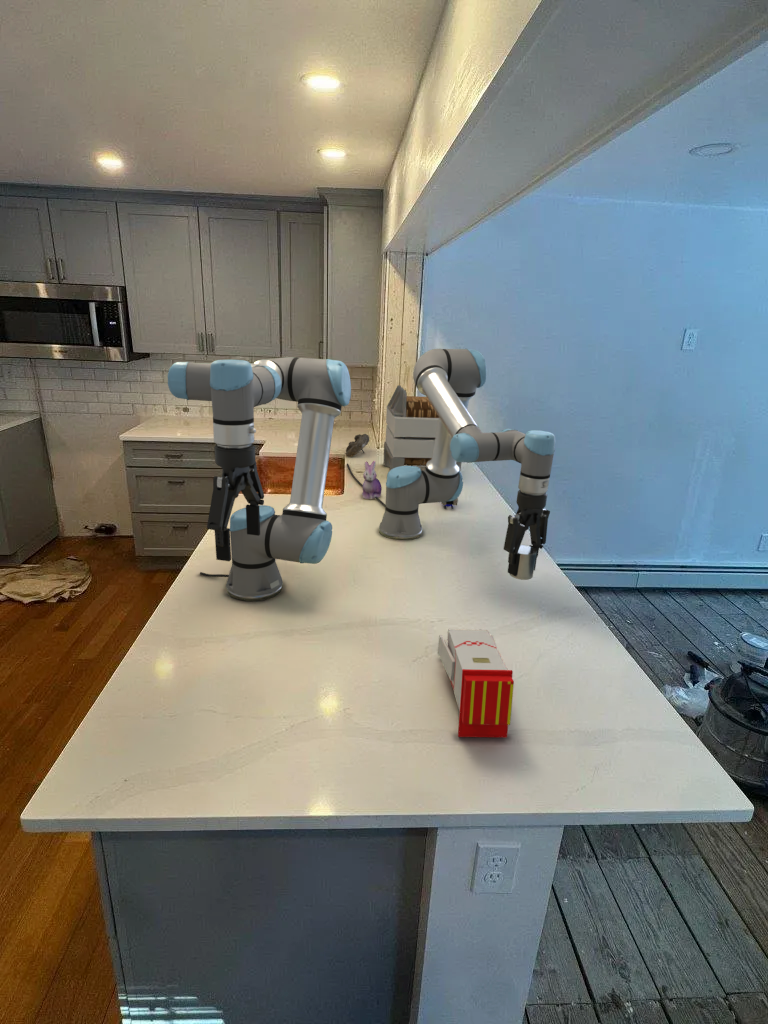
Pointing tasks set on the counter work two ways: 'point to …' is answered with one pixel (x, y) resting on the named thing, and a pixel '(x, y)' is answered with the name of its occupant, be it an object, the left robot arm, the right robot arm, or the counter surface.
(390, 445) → the grey slatted crate
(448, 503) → the figurine character
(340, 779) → the counter surface
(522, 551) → the tin
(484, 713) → the toy
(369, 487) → the figurine
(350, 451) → the fossil
